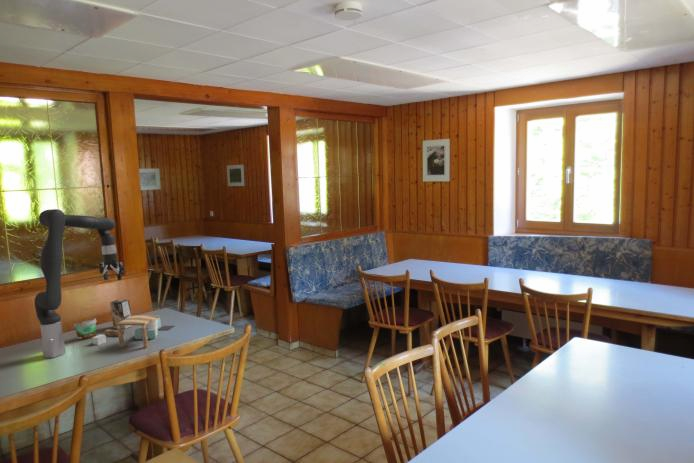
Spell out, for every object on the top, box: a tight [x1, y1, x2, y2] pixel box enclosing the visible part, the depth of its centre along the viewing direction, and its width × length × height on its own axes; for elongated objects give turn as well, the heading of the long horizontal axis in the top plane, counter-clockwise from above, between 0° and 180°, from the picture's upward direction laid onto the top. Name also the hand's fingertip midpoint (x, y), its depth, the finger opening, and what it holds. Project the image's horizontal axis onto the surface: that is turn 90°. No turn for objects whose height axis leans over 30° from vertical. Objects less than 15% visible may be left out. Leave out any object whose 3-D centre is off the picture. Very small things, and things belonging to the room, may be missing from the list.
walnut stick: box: [103, 329, 125, 337], centre depth 282 cm, size 12×2×3 cm, turn 71°
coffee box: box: [109, 299, 133, 330], centre depth 296 cm, size 9×6×16 cm
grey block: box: [91, 334, 107, 346], centre depth 269 cm, size 5×4×4 cm
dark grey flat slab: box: [157, 325, 175, 331], centre depth 288 cm, size 7×7×1 cm
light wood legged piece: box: [116, 314, 161, 349], centre depth 264 cm, size 14×16×13 cm
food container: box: [73, 317, 98, 341], centre depth 279 cm, size 12×6×10 cm, turn 143°
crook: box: [134, 317, 162, 340], centre depth 282 cm, size 22×12×5 cm, turn 171°
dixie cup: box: [146, 318, 158, 336], centre depth 275 cm, size 8×8×10 cm
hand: (113, 280), depth 287 cm, fingers open, 8 cm apart
